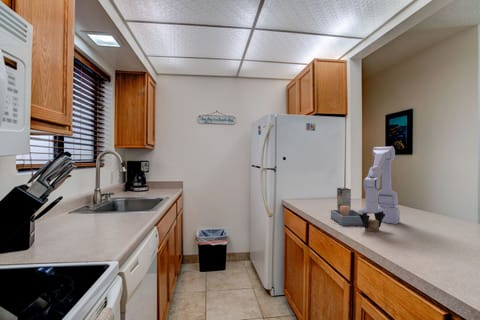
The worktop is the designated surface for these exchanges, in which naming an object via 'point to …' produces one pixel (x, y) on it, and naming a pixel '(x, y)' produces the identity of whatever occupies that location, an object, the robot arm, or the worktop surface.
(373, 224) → the walnut block
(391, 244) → the worktop surface
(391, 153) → the robot arm
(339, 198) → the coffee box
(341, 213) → the peach rounded cylinder
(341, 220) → the slate tote
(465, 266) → the worktop surface
